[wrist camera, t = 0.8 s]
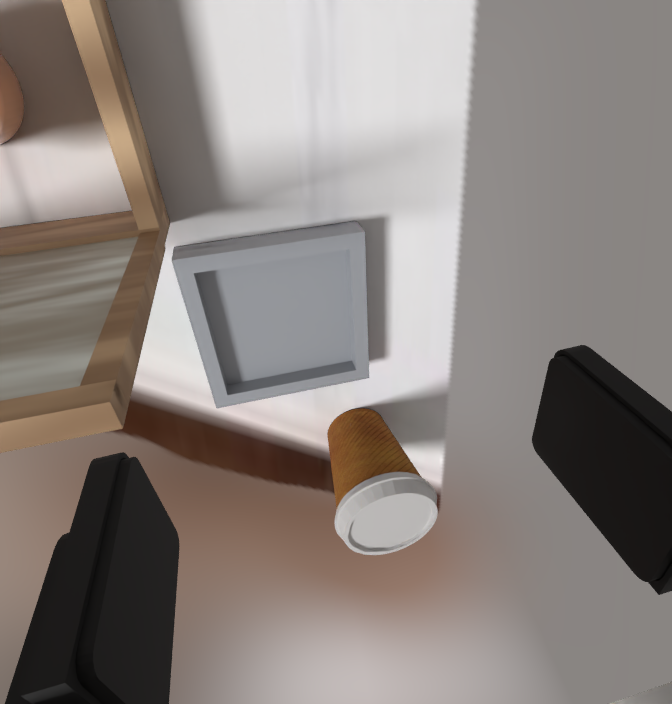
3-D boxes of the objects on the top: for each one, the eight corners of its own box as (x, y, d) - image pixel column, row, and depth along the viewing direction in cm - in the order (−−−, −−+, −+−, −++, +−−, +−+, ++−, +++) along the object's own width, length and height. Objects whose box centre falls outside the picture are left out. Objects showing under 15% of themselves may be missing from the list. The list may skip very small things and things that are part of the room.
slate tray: (174, 247, 33) (171, 260, 31) (356, 220, 35) (364, 231, 33) (216, 390, 41) (216, 408, 39) (361, 362, 43) (369, 377, 41)
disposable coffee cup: (294, 437, 46) (315, 539, 37) (360, 380, 44) (402, 473, 35) (351, 471, 52) (382, 568, 42) (413, 422, 49) (461, 513, 40)
